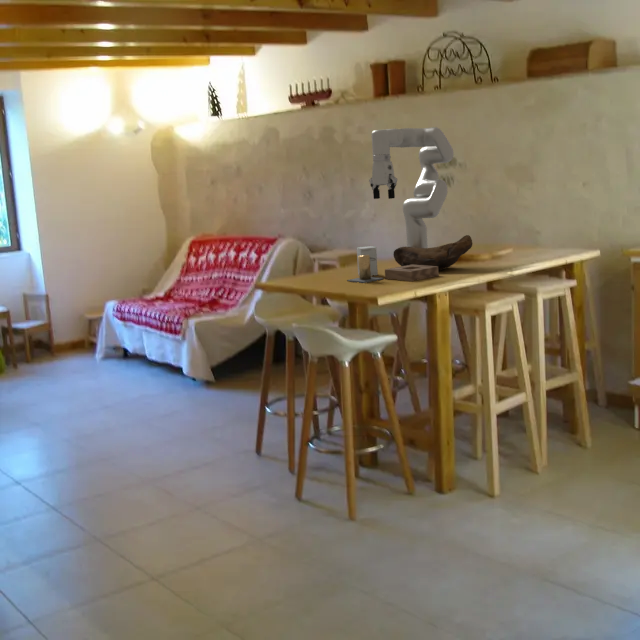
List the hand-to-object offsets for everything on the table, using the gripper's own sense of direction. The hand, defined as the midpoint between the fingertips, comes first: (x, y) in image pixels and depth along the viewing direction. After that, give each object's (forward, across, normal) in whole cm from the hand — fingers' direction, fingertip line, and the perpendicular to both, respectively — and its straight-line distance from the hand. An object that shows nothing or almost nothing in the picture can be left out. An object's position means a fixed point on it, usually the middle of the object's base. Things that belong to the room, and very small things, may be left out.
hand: (384, 198), depth 360 cm
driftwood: (+34, -10, -17) cm, 39 cm away
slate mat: (+33, -5, +18) cm, 38 cm away
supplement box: (+34, +6, +7) cm, 35 cm away
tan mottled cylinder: (+33, -5, +18) cm, 38 cm away
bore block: (+33, -18, +3) cm, 38 cm away
